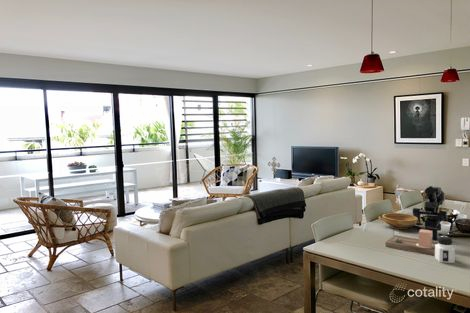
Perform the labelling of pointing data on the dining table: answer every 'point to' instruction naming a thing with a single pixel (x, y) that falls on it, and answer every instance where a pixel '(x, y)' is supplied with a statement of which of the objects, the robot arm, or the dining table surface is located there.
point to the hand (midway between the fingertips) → (427, 225)
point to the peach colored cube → (425, 238)
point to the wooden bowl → (399, 220)
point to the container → (445, 250)
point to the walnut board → (410, 245)
